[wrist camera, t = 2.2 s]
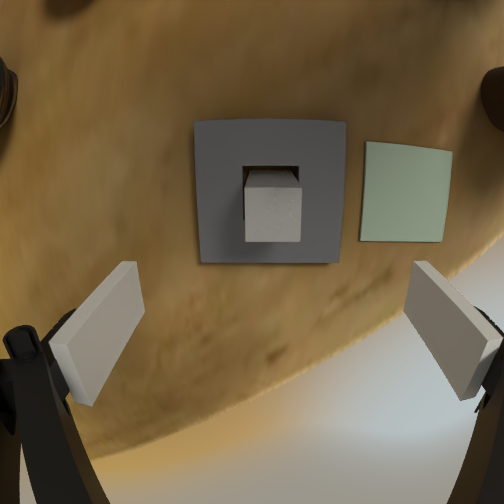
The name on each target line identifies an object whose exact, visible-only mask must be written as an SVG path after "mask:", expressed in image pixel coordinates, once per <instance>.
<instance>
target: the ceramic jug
mask: <svg viewBox="0 0 504 504" xmlns="http://www.w3.org/2000/svg"><path fill="white" fill-rule="evenodd" d="M17 81H18V79H17V75H16V74H15V73H14V72H13V71H11V70H9V69H7V67H6V65H5V63H4V61H3V60H2V58H1V57H0V128H1V127H2V126H3V125H4V124H5V123H6V121H7V120H8V119H9V116H10V114H11V112H12V109H13V107H14V105H15V102H16V95H17Z"/></svg>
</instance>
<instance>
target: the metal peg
mask: <svg viewBox="0 0 504 504" xmlns="http://www.w3.org/2000/svg"><path fill="white" fill-rule="evenodd" d="M301 206H302V187H301V186H300V184H299V182H298V181H297V179H296V178H295V176H294V175H293V173H292V172H291V170H250V172H249V175H248V178H247V181H246V185H245V241H246V242H300V236H301Z"/></svg>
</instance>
